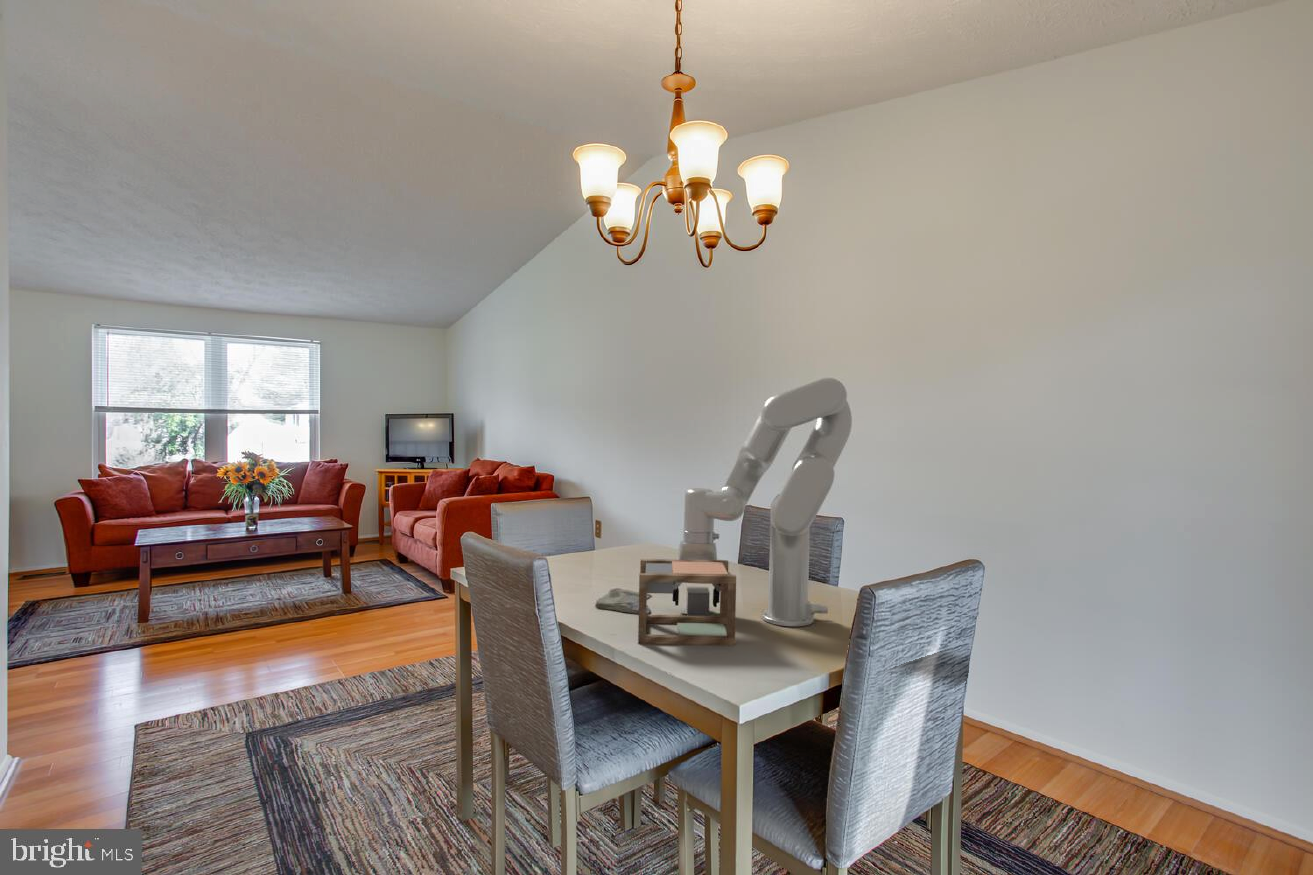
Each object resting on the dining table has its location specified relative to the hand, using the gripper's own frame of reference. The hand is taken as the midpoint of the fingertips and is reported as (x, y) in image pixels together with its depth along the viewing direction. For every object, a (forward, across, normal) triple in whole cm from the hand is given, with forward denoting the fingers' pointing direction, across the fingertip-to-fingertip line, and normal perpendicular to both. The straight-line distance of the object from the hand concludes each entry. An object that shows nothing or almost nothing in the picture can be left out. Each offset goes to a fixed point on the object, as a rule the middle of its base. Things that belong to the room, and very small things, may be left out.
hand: (695, 604), depth 164 cm
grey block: (+2, 0, 0) cm, 2 cm away
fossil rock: (+3, +17, -8) cm, 19 cm away
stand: (+2, +3, +15) cm, 16 cm away
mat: (+2, 0, +15) cm, 15 cm away
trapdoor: (-8, +4, +15) cm, 18 cm away
